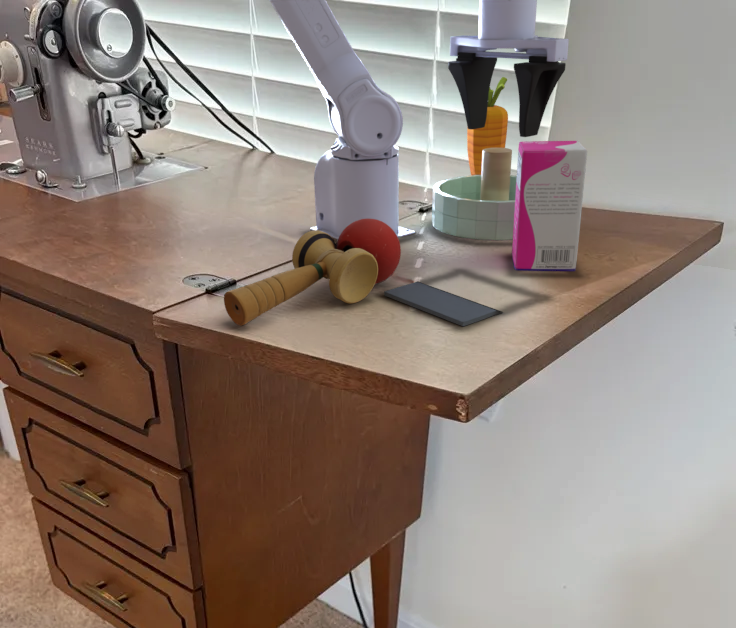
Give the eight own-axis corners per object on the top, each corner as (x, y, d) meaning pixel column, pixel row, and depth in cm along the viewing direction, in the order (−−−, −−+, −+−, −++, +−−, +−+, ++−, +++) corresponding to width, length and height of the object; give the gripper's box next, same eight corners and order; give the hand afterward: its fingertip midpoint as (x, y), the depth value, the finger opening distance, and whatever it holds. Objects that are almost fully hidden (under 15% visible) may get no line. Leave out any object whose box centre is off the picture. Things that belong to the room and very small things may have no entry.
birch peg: (473, 222, 90) (476, 150, 86) (492, 217, 92) (496, 146, 88) (493, 228, 88) (498, 153, 84) (513, 223, 90) (518, 150, 86)
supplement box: (568, 257, 80) (580, 138, 74) (575, 276, 75) (589, 150, 69) (510, 256, 80) (518, 138, 75) (513, 275, 75) (522, 150, 70)
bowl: (407, 226, 91) (408, 187, 89) (489, 206, 99) (491, 169, 97) (496, 252, 82) (499, 208, 80) (579, 228, 89) (584, 187, 87)
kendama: (273, 354, 63) (427, 273, 72) (249, 280, 60) (412, 205, 70) (224, 343, 69) (372, 269, 78) (200, 275, 66) (356, 206, 75)
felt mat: (383, 295, 71) (383, 291, 71) (462, 271, 76) (462, 267, 76) (463, 326, 64) (463, 322, 64) (543, 298, 70) (543, 293, 69)
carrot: (501, 195, 104) (509, 71, 97) (503, 204, 100) (512, 75, 92) (463, 194, 104) (469, 71, 97) (464, 203, 100) (469, 75, 93)
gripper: (593, -14, 76) (579, 134, 82) (483, -12, 86) (478, 120, 92) (545, -12, 72) (534, 143, 79) (436, -10, 82) (435, 128, 89)
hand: (501, 131), depth 85 cm, fingers open, 7 cm apart
